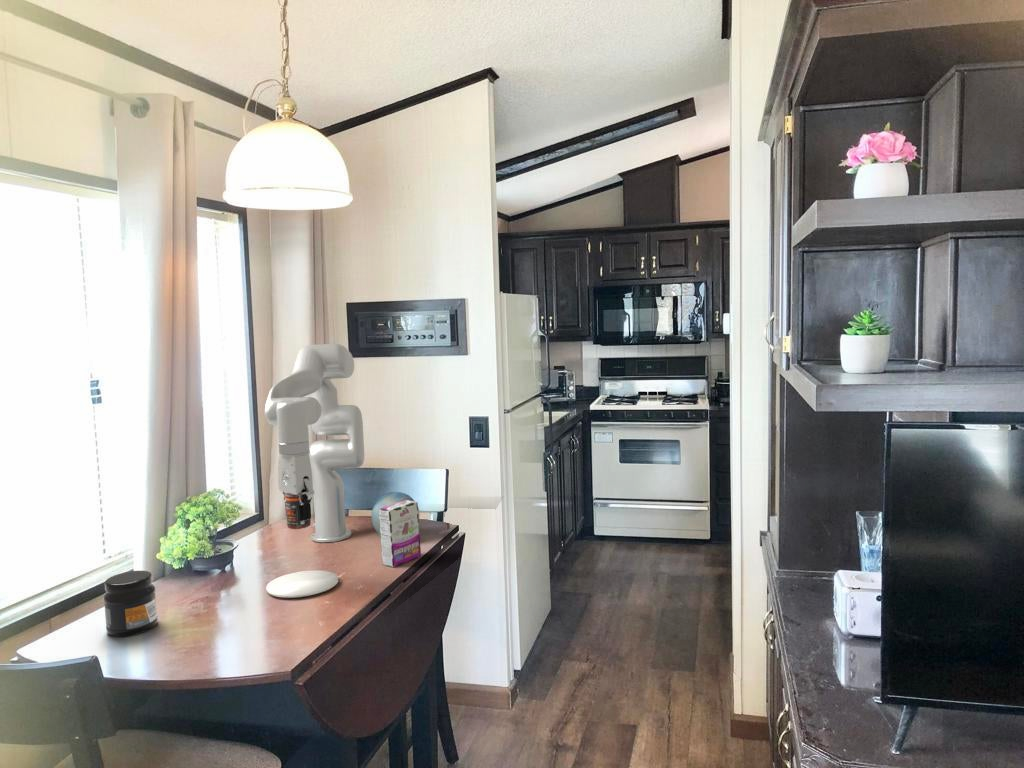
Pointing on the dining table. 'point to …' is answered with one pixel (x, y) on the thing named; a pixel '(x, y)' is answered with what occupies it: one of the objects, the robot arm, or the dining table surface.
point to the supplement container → (130, 603)
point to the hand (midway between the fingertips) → (298, 516)
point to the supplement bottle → (294, 513)
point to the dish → (302, 584)
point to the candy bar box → (399, 533)
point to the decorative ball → (386, 501)
